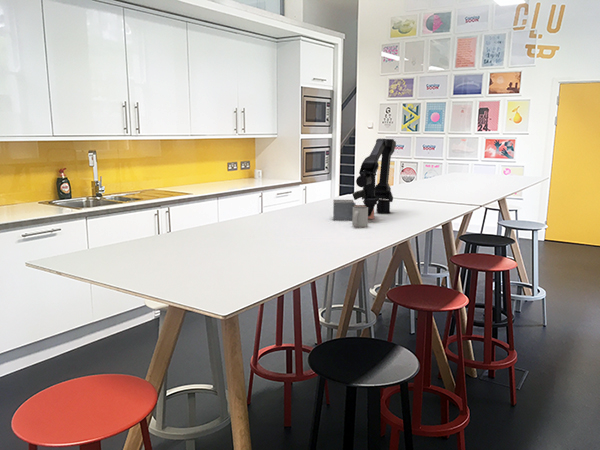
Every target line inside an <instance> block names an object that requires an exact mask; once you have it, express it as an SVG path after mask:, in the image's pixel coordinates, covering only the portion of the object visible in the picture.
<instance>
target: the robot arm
mask: <svg viewBox="0 0 600 450" xmlns="http://www.w3.org/2000/svg"><path fill="white" fill-rule="evenodd" d="M396 147H397V141H395V139H394V138H377V139H376V140H375V144H374V146H373V148H372V150H371V152H370V154H369V155H368V156H367V157H365V158H364V160H363V161H362V163H361V166H360V168H359V172H358V174H359V176H357V177H356V180H355V183H356V186H358V187H359V188H362V189H360V190H357V191H354V192H352V197H353V201H354V200H355V201H356V200H359V199H361V200H362V202H363V205H366V207H368V216H370V215H371V213H372V211H373V209H374V210H376V212H377V214H390V213H391V208H390V207H391V203H393V200H394V196H393V193H392V189H391V185H390V184H389V179H390V167H391V157H392V156H393V153H394V152H395V149H396ZM380 158H381V161H380V166H379V159H380ZM379 167H380V170H379V180H378V181H379V182H378V183H377V184H376V176H377V172H378V169H379ZM375 207H376V209H375Z"/></svg>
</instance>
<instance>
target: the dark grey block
mask: <svg viewBox="0 0 600 450" xmlns="http://www.w3.org/2000/svg"><path fill="white" fill-rule="evenodd" d="M332 202H333V207H332V208H333V211H332V213H333V214H332V219H333V221H352V220H353V207H354V205H357V204H356V202H354V199H333V201H332Z"/></svg>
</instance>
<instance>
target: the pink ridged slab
mask: <svg viewBox="0 0 600 450" xmlns="http://www.w3.org/2000/svg"><path fill="white" fill-rule="evenodd" d="M356 206H364V207H366V205H364V204H356V205H354V207H356ZM369 219H375V208H374V209H373V211H372V213H371V215H370V216H368V220H369Z"/></svg>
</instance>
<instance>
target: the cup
mask: <svg viewBox="0 0 600 450" xmlns="http://www.w3.org/2000/svg"><path fill="white" fill-rule="evenodd" d="M368 220H369V219H368V207H364V206H356V207H353V220H351V221H352V224H351V225H352V227H353V226H354V228H359V227H361V228H362V229H363V228H367V227H368V223H369V221H368Z"/></svg>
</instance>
